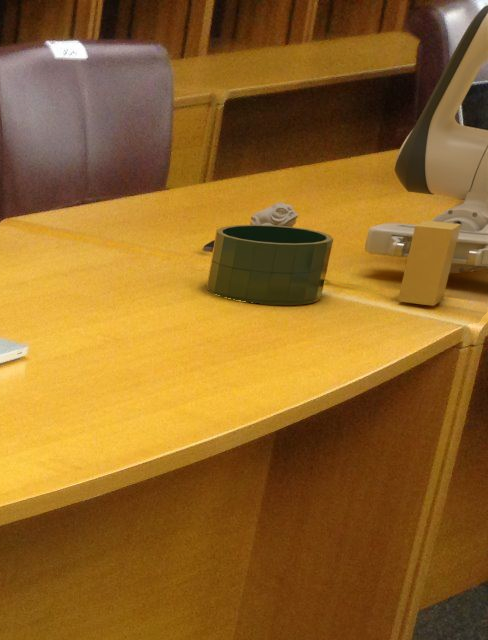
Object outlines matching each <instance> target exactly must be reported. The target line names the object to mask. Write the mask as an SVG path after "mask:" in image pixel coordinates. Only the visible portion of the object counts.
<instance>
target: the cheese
mask: <svg viewBox="0 0 488 640" xmlns="http://www.w3.org/2000/svg"><path fill="white" fill-rule="evenodd" d="M415 225H416V226H415V229H414V233H413V238H412V242H411V246H410V250H409V255H408V258H406V264H405V267H404V273H403V277H402V280H401V285H400V289H399V294H398V297H397V302H401V303H407V304H414V305H415V304H416V305H424V306H432V307H434V306H436V305H437V304H439V303H440V302H441V301H442V300H443V299H444V295H445V293H446V288H447V285H448V284H447V283H448V281H449V275H450V273H449V272H450V268H451V264H452V260H453V255H454V251H455V247H456V243H457V239H458V235H459V231H460V227H461V224H455V223H445V222H435V221H432V220H423V221H420V222H419V223H417V224H415ZM443 301H444V300H443Z"/></svg>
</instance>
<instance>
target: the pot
mask: <svg viewBox="0 0 488 640" xmlns="http://www.w3.org/2000/svg"><path fill="white" fill-rule="evenodd" d="M214 240H215V242H214V247H213V252H211V260H210V265H209V270H208V275H207V276H208V277H207V281H206V290H207V289H208V290H209V291H210V292H209V291H208V290H207V291H208V292H209V293H211V292H212V293H211V294H213V293H214V294H213V295H215V294H217V295H220V296H223V297H227V298H231V299H235V300H241V301H246V302H253V303H259V304H258V305H263V304H267V305H266V306H301V305H307V304H308V305H309V304H313V303H316V302H318V301H319V300H321V296H323V290H324V285H325V281H326V276H327V272H328V267H329V261H330V256H331V252H332V247H333V243H334V237H333V236H332V235H330V234H328V233H326V232H323V231H318V230H315V229H310V228H302V227H296V226H293V227H288V226H276V225H250V224H238V225H237V224H235V225H227V226H222V227H220V228H217V229H216V230H215V237H214ZM217 295H216V296H217ZM220 296H219V297H220ZM223 297H222V298H223Z"/></svg>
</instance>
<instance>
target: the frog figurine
mask: <svg viewBox="0 0 488 640" xmlns="http://www.w3.org/2000/svg"><path fill="white" fill-rule="evenodd" d="M298 218H299V214H298V213H297V212H296V210H294V207H293V206H292V205H291V204H287V203H284V202H276V203H274V204H272V205H271V206H268V207H266V208H264V209H262V210H259V211H256V212H255V213H253V214H252V215H251V216H250V219H251V221H250V222H249V225H276V226H288V227H294V225H296V223H297V220H298Z"/></svg>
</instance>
